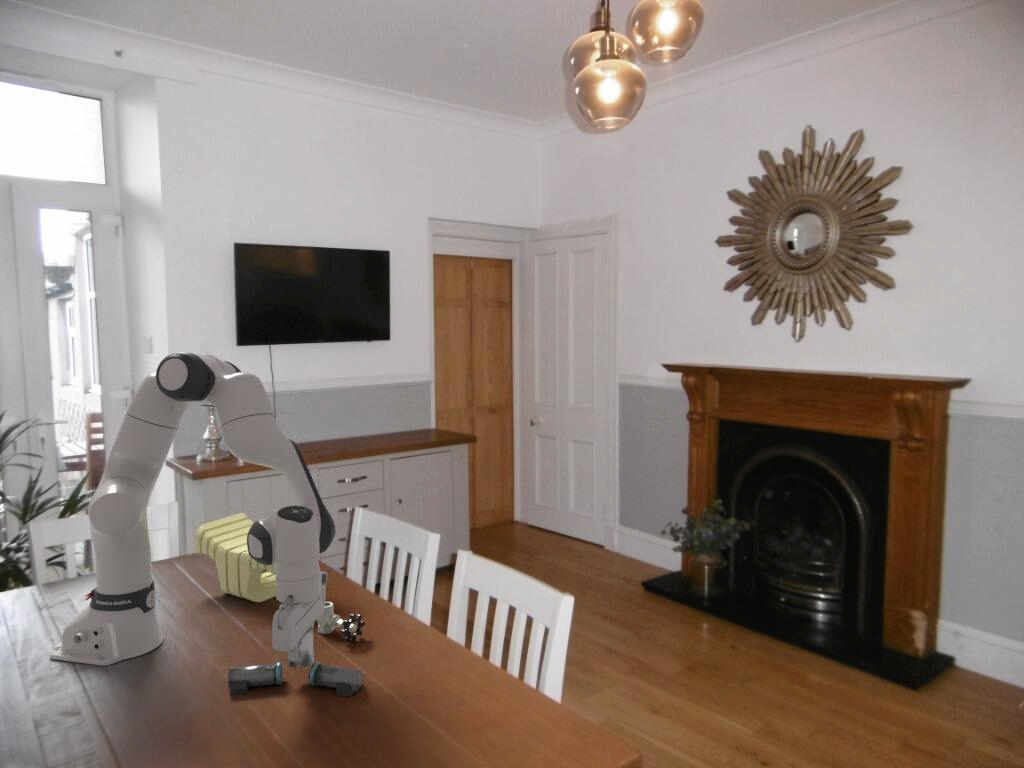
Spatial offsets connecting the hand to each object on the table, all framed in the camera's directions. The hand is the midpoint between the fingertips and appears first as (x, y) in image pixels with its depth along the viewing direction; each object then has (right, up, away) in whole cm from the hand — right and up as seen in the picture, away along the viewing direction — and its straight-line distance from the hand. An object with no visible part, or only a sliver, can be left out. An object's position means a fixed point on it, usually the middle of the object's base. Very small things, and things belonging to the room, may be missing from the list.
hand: (301, 652), depth 148 cm
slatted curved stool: (-26, -1, +48) cm, 54 cm away
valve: (+2, -4, +21) cm, 22 cm away
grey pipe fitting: (-9, -6, -2) cm, 11 cm away
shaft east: (+8, -6, -2) cm, 10 cm away
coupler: (0, -2, 0) cm, 2 cm away
